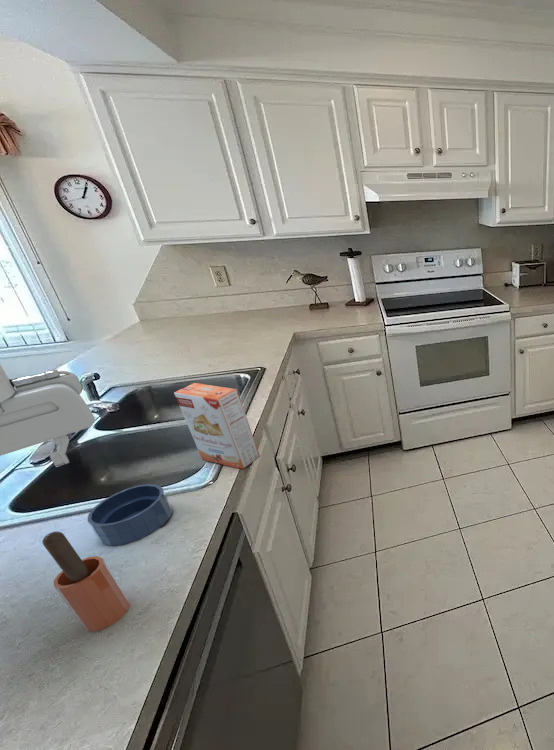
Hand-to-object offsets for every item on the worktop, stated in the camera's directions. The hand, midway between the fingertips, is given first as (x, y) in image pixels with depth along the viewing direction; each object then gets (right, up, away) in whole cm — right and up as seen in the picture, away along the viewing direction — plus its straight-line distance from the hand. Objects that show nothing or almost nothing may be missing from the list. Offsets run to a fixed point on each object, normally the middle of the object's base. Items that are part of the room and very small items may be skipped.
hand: (16, 480), depth 57 cm
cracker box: (-4, -8, +52) cm, 52 cm away
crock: (+1, -26, +12) cm, 29 cm away
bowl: (-11, -18, +31) cm, 37 cm away
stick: (+1, -26, +12) cm, 29 cm away
